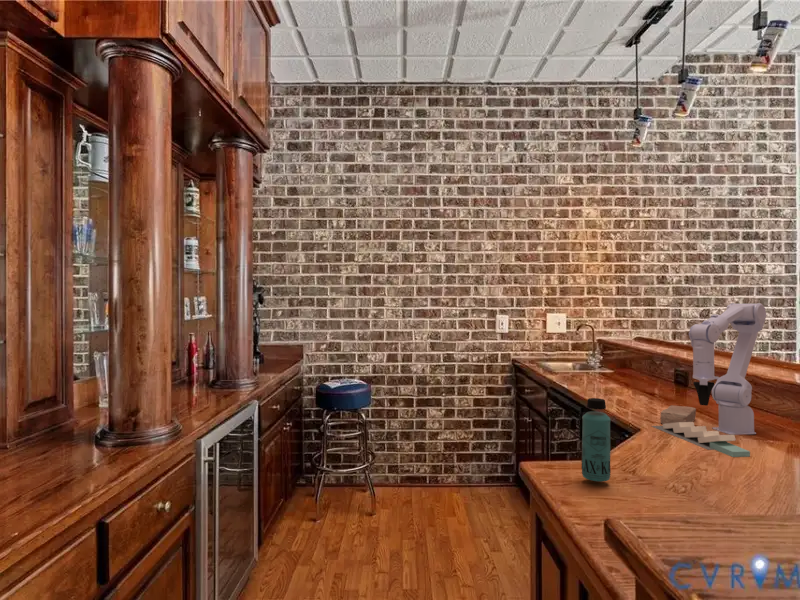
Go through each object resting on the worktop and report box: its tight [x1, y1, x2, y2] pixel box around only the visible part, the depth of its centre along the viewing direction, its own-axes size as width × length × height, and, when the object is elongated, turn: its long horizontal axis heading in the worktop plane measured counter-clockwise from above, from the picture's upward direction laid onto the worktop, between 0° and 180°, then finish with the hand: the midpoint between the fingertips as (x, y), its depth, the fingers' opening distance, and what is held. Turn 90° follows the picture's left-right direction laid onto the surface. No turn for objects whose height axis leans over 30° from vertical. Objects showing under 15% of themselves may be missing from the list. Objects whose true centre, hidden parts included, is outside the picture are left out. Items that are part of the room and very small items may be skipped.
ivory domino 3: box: [684, 430, 720, 438], centre depth 152 cm, size 5×2×9 cm
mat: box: [650, 425, 716, 451], centre depth 157 cm, size 9×28×1 cm, turn 5°
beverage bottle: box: [580, 397, 612, 482], centre depth 117 cm, size 6×7×20 cm
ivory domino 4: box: [698, 434, 737, 443], centre depth 146 cm, size 5×2×9 cm
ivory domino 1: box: [662, 421, 695, 429], centre depth 163 cm, size 5×2×9 cm
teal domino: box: [710, 441, 751, 458], centre depth 140 cm, size 5×2×9 cm
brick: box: [659, 404, 697, 425], centre depth 177 cm, size 17×8×5 cm, turn 139°
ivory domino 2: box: [673, 425, 708, 433], centre depth 157 cm, size 5×2×9 cm
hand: (703, 405), depth 156 cm, fingers closed
